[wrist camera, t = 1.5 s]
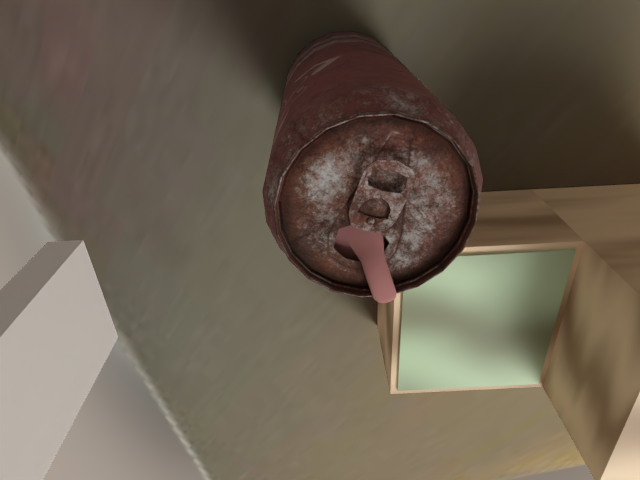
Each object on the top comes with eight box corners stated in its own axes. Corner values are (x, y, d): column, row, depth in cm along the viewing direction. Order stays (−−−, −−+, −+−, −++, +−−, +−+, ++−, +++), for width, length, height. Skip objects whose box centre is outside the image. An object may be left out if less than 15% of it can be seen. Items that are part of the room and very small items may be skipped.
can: (311, 168, 26) (312, 338, 14) (267, 56, 23) (219, 151, 11) (414, 131, 25) (511, 280, 13) (382, 10, 22) (471, 59, 10)
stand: (379, 197, 27) (423, 337, 17) (667, 182, 27) (891, 314, 17) (377, 327, 32) (409, 496, 22) (618, 315, 32) (764, 479, 22)
